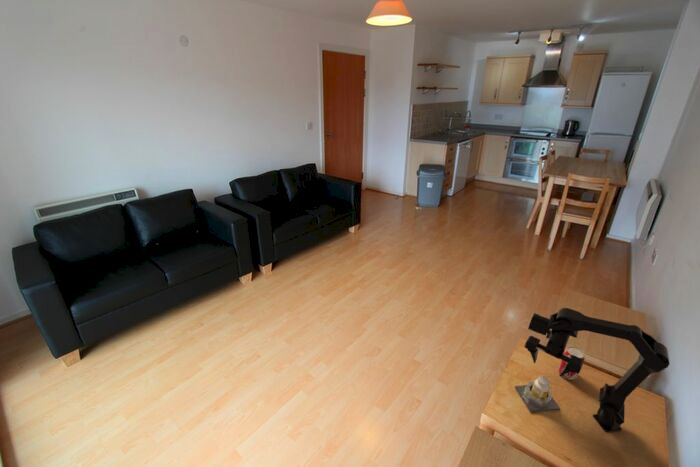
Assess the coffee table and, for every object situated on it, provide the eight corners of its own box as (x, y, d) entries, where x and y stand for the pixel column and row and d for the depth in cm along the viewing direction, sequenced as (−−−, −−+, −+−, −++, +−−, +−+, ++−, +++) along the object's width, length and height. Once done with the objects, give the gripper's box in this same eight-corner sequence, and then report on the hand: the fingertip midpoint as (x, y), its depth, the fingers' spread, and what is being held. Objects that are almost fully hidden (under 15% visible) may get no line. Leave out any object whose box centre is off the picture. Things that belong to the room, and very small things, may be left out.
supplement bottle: (530, 399, 129) (536, 383, 125) (529, 389, 134) (535, 372, 129) (545, 404, 127) (552, 388, 123) (544, 393, 132) (551, 377, 127)
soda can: (557, 377, 140) (566, 355, 134) (557, 365, 146) (565, 343, 140) (577, 383, 137) (587, 361, 131) (575, 371, 143) (585, 349, 137)
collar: (559, 409, 127) (562, 403, 125) (530, 412, 126) (532, 405, 124) (542, 385, 136) (544, 378, 135) (514, 387, 136) (516, 381, 134)
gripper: (592, 340, 121) (579, 370, 128) (538, 316, 132) (528, 345, 139) (586, 357, 114) (572, 388, 121) (529, 331, 125) (519, 360, 132)
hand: (547, 369), depth 128 cm, fingers open, 9 cm apart
